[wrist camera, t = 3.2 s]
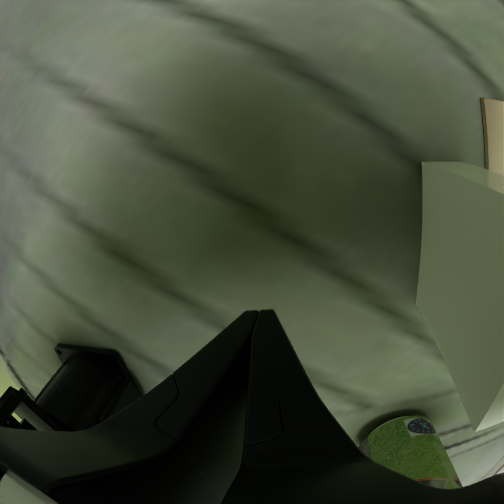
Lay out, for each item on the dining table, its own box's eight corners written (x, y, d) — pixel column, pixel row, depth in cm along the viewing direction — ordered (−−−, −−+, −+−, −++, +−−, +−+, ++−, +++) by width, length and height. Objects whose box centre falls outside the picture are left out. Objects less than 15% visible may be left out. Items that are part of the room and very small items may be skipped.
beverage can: (339, 441, 19) (338, 582, 8) (411, 387, 16) (446, 557, 5) (391, 454, 19) (401, 571, 8) (458, 407, 16) (493, 537, 5)
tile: (415, 303, 13) (474, 432, 6) (421, 161, 11) (553, 220, 3) (454, 297, 13) (524, 412, 6) (465, 161, 10) (599, 217, 3)
